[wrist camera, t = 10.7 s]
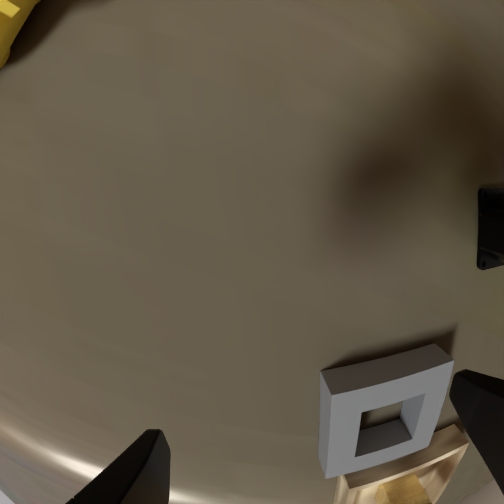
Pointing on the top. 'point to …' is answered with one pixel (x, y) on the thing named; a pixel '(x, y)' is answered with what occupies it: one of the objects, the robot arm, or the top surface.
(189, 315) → the top surface
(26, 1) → the teapot
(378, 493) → the pin
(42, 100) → the top surface
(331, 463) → the frame
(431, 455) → the tray
